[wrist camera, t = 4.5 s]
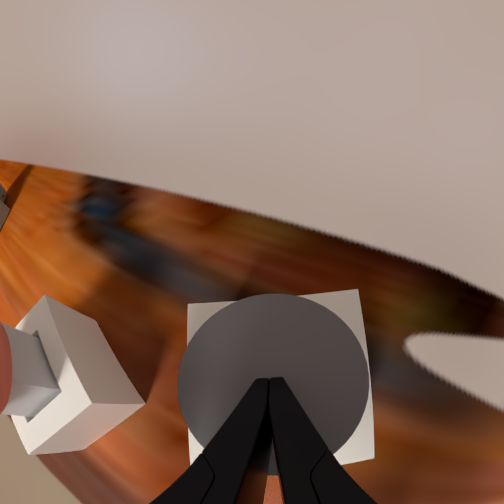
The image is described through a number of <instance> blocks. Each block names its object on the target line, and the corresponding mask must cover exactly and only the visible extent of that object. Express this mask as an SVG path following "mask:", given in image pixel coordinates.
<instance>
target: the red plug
mask: <svg viewBox="0 0 504 504" xmlns="http://www.w3.org/2000/svg"><path fill="white" fill-rule="evenodd" d="M61 392H62V391H61V389H60V387H59V384H58V382H57V380H56V378H55V375H54V373H53V371H52V368H51V366H50V363H49V361H48V358H47V356H46V353H45V350H44V348H43V345H42V342H41V339H40V338H38V337H36V336H33V335H31V334H28V333H25V332H23V331H20V330H18V329H16V328H13V327H11V326H8V325H6V324H4V323H2V322H0V414H8V415H17V416H27V417H35V416H36V415H37V414H38V413H39V412H40V411H41V410H42V409H44V408H45V407H46V406H47V405H48V404H49V403H50V402H51V401H52V400H53V399H54V398H56V397H57V396H58V395H59V394H60V393H61Z"/></svg>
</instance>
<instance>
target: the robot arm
mask: <svg viewBox="0 0 504 504" xmlns="http://www.w3.org/2000/svg"><path fill="white" fill-rule="evenodd" d="M272 439H273V446H274V452H275V458H276V465H277V471H278V477H279V483H280V489H281V495H282V501H283V504H377V503H376V502H375V501H374V500H373V499H372V498H371V497H370V496H369V495H368V494H367V493H366V492H365V491H364V490H363V489H362V488H361V487H360V486H359V485H358V484H357V483H356V482H355V481H354V480H353V479H352V478H351V477H350V476H349V475H348V473H347V472H346V471H345V470H344V469H343V467H342V466H341V465H340V463H339V462H338V461H337V459H336V458H335V456H334V455H333V453H332V452H331V450H329V448H328V446H327V445H326V443H325V442H324V440H323V439H322V437H321V436H320V434H319V433H318V431H317V430H316V428H315V426H314V425H313V423H312V422H311V420H310V419H309V417H308V416H307V414H306V413H305V411H304V409H303V408H302V406H301V405H300V403H299V402H298V400H297V398H296V397H295V395H294V394H293V392H292V390H291V389H290V387H289V386H288V384H287V382H286V381H285V379H284V378H283V377H271V378H270V380H269V378H256V379H255V380H254V382H253V383H252V385H251V386H250V387H249V389H248V390H247V392H246V393H245V395H244V396H243V397H242V399H241V400H240V402H239V403H238V404H237V406H236V407H235V408H234V410H233V411H232V413H231V414H230V415H229V417H228V418H227V419H226V421H225V422H224V423H223V425H222V426H221V427H220V429H219V430H218V431H217V433H216V434H215V435H214V437H213V438H212V439H211V440H210V442H209V443H208V444H207V446H206V447H205V448H204V449H203V451H202V453H200V454H199V455H198V457H197V458H196V459H195V461H194V462H193V463H192V464H191V465H190V466H189V467H188V469H187V470H186V471H185V472H184V473H183V474H182V475H181V476H180V477H179V478H178V479H177V480H176V481H175V482H174V483H173V484H171V485H170V486H169V487H168V488H167V489H166V490H165V491H163V492H162V493H161V494H160V495H159V496H158V497H156V498H155V499H154V500H153V501H152V502H150V503H149V504H263V500H264V494H265V488H266V482H267V475H268V469H269V462H270V455H271V448H272Z"/></svg>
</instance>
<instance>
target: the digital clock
mask: <svg viewBox="0 0 504 504" xmlns="http://www.w3.org/2000/svg"><path fill="white" fill-rule="evenodd" d="M6 195H7V194H6V191H5V189H4V187H3V186H2V185H1V183H0V230H1V228H2V226H3V224H4V222H5V220H6V218H7V216H8V214H9V212H10V208H8V207H7V206H6V205H5V204H4V203H3V202H4V201H5V199H6Z"/></svg>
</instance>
